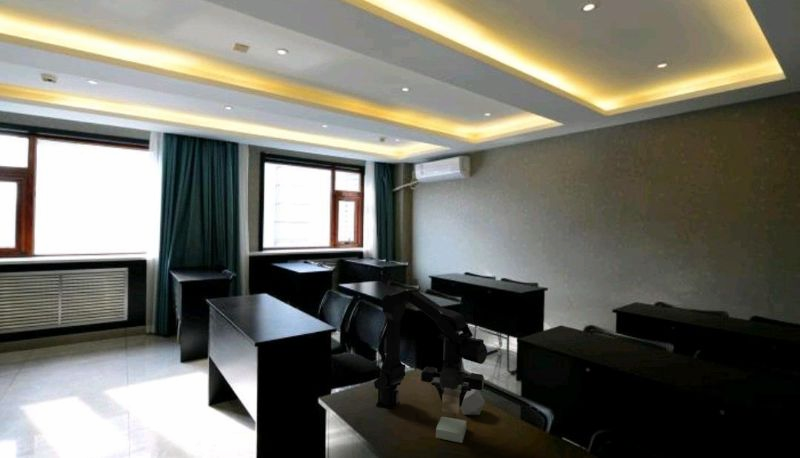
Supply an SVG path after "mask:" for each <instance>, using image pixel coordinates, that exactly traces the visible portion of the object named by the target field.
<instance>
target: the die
mask: <svg viewBox="0 0 800 458" xmlns="http://www.w3.org/2000/svg"><path fill="white" fill-rule="evenodd" d="M485 403H486V401H485V399H484V396H483V395H482V393H481V390H474V389H472V390H471V391H467V393H466V395H465V397H464V399H463V402H462V405H461V407H460V410H461V412H462V413H463V415H464V416H480V414H481V412H482V409H483V408H484V406H485Z"/></svg>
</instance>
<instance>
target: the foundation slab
mask: <svg viewBox="0 0 800 458" xmlns="http://www.w3.org/2000/svg"><path fill="white" fill-rule="evenodd" d="M466 431H467V420H464V419H459V418H452V417H447V416H441V417H440V419H439V421H438V423H437V426H436V428H435V438H436V439H442V440H445V441H446V440H447V441H451V442H454V443H455V442H456V443H461V444H463V442H464V441H463V440H464V438H465V435H466Z"/></svg>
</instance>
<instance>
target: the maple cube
mask: <svg viewBox="0 0 800 458" xmlns="http://www.w3.org/2000/svg"><path fill="white" fill-rule="evenodd" d="M460 396H461V389H450V388H444V392H443V394H442V402H441V406H442V407H441V411H442V412H446V413H451V414H457V415H458V414H459V413H460V410H461V407H459V402H460Z"/></svg>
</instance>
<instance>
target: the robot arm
mask: <svg viewBox="0 0 800 458" xmlns="http://www.w3.org/2000/svg"><path fill="white" fill-rule="evenodd" d="M407 304H411V305H413V306H414V307H415V308H417V309H418V310H419V311H421V312H423V313H424V314H425V315H426V316H428V317H429V318H431V319H432V320H434V321H435V324H436V326H437V327H438V328H439V329H440V331H442V333H440V334H439V335H438V336H437V338H438V339H440V340H443V361H442V362H443V363H442V367H441V369H440V370H441V371H438V368H437V367H433V366H426V367H424V369H423V370H422V371H421V374H420V381H421V382H423V383H431V386H433V387H435V388H436V390H437V392H438V395H439V399H440V402H441V403H442V394H443V392H444V390H445V388H449V389H455V390H457V387H458V386H461V388H460V390H461V396H460V402H459V407H460V408H461V405H462V402H463V399H464V397H465V395H466V393H467V391H471V390H472V389H474V390H479V391H483V388H484V384H485V377H484V375H483V374H481V373H475V372H470V375H465V373H464V372H463V360H465V361H468V362H471V363H476V364H479V365H482V364H484V363H485V361H486V359H487V356H488V349H487V346H486V344H484V342H485V341H484V339H481V338H475V337H473V336H474V335H473V333H472V331H471V329H470V327H469V325H468V323H467V321H466V317H465V315H463V314H462V313H460V312H459V311H455V310H452V309H449V308H445V307H443V306H441V305H439V304H438V303H437V302H435V301H434V300H432V299H430V298H429V297H427V296H426V295H425V294H423V293H422V292H421V291H419V289H416V288H409V289H405V290H404V291H402V292H395V293H390V294H386V295H384V296H383V297H382V299H381V307H382V312H383V314H384V316H385V318H386V319H385V320H386V329H385V330H386V331H385V332H386V333H385V334H386V335H385V336H386V337H385V338H386V339H385V359H384V362H383V364H382V366H381V367H380V372H379V377H378V378H377V379H376V380H374V381H373V385H374V389H375V390H377V402H376V403H375V406H376V407H379V408H386V409H391V410H393V409H394V408H395V407H396V405H398V404H399V398H400V397H399V395H400V394H399V393H400V392H399V390H398V386H400V385H401V383H402V381H403V380H404V379H405V376H406V364H404V363H402V361H401V359H400V358H401V357H400V356H401V352H400V351H401V324H402V323H401V321H402V320H401V319H402V317H403V315H404V313H405V311H406V306H407ZM461 332H462V333H461ZM458 333H459V334H458Z"/></svg>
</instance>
